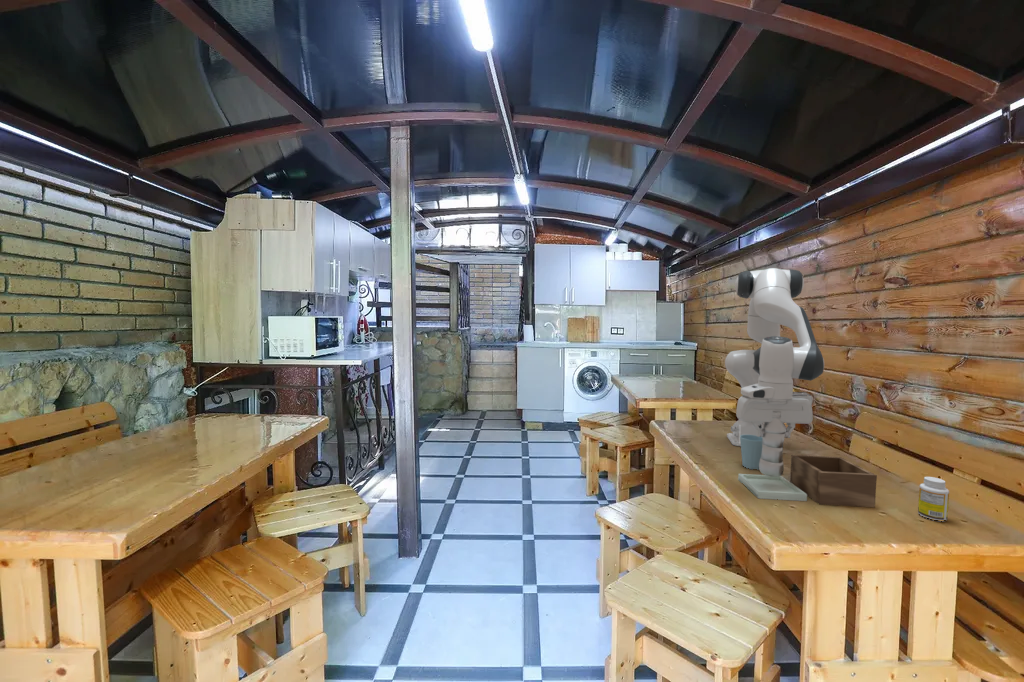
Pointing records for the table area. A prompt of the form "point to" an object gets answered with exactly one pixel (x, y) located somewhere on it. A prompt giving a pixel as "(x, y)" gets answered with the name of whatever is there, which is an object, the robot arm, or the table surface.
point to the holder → (833, 480)
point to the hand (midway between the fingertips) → (772, 436)
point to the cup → (751, 451)
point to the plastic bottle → (772, 447)
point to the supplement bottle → (933, 499)
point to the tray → (772, 487)
